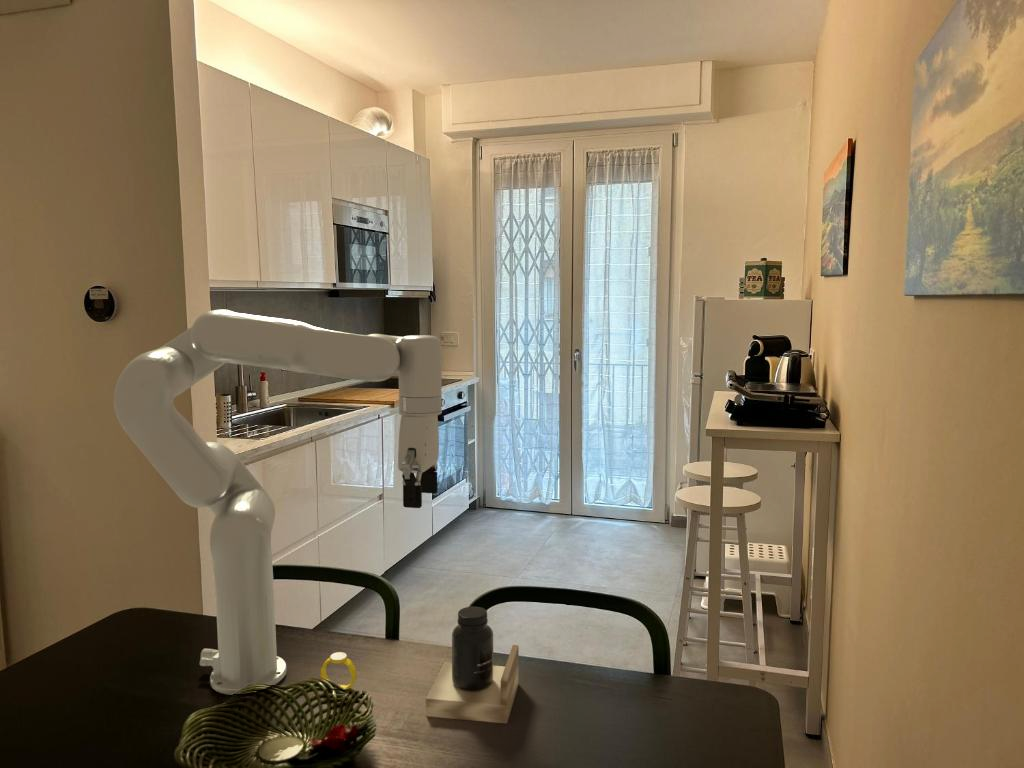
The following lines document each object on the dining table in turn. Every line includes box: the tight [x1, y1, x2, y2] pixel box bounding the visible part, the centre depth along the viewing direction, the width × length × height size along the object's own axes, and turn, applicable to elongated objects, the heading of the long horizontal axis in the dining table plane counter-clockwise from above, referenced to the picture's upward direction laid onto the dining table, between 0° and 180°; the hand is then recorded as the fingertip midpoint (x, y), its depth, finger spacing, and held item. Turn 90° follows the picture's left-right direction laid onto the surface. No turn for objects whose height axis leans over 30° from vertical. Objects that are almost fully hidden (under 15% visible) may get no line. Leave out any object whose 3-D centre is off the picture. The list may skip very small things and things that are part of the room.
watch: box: [320, 651, 357, 690], centre depth 127 cm, size 6×3×6 cm, turn 78°
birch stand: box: [425, 644, 520, 724], centre depth 123 cm, size 13×12×7 cm
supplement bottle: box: [451, 606, 494, 691], centre depth 122 cm, size 7×7×12 cm
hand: (420, 499), depth 134 cm, fingers open, 9 cm apart
